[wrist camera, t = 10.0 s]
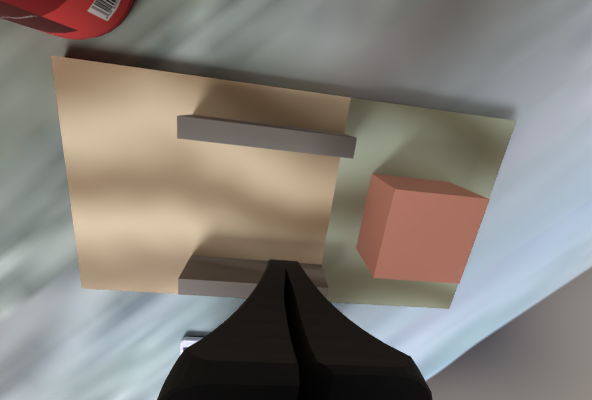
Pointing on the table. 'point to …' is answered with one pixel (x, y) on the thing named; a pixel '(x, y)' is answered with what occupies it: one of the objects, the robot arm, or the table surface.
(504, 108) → the table surface
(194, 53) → the table surface
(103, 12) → the canned food
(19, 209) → the table surface
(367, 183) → the lane board
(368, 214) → the block
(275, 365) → the robot arm
